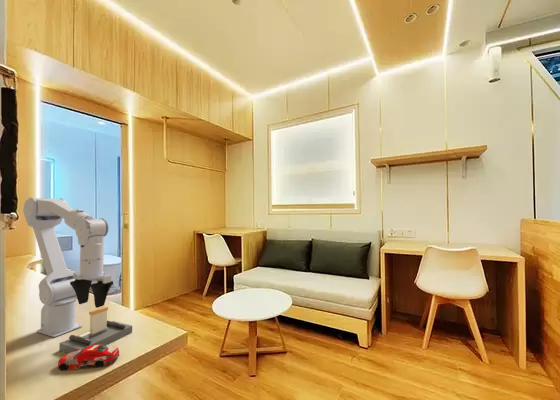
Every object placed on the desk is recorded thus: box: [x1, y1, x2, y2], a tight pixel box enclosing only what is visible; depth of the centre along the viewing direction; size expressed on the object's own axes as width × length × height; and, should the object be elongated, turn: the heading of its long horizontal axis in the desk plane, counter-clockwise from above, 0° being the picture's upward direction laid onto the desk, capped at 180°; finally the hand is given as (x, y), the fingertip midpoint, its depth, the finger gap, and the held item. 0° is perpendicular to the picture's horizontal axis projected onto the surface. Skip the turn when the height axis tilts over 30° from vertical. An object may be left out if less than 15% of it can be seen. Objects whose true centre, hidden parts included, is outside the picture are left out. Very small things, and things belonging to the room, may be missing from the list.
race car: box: [57, 344, 120, 372], centre depth 66 cm, size 13×5×4 cm, turn 98°
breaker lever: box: [88, 305, 109, 337], centre depth 77 cm, size 2×5×7 cm, turn 157°
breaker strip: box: [59, 320, 133, 354], centre depth 77 cm, size 9×15×3 cm, turn 157°
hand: (91, 304), depth 78 cm, fingers open, 7 cm apart
